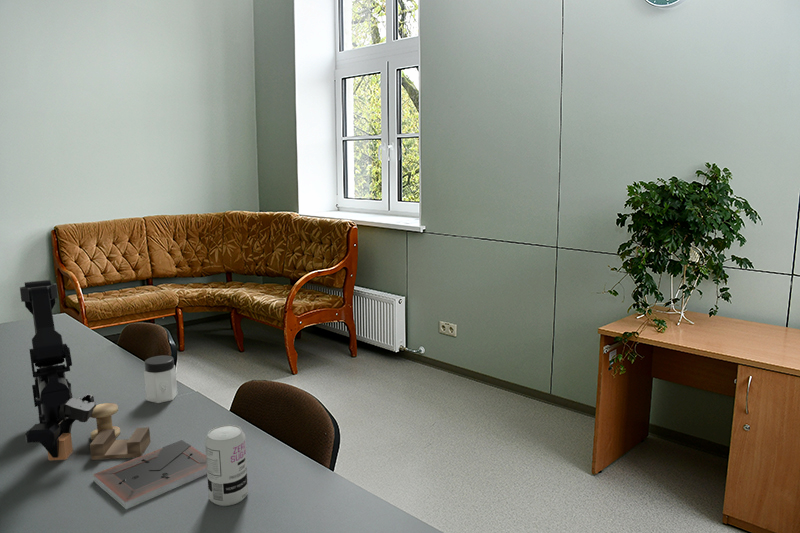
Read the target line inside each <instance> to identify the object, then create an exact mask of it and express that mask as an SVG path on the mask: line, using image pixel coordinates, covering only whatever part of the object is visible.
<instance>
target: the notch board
mask: <svg viewBox="0 0 800 533" xmlns="http://www.w3.org/2000/svg"><path fill="white" fill-rule="evenodd" d="M91 441H92V442H91V443H90V444H89V449H90V456H91V457H90V458H91V461H95V460H97V461H98V460H111V459H112V460H113V459H135V458H137V457H140V456H143V455H144V453H145V451H146V449H147V448H148V446H149V445H150V443H151V432H150V427H149V426H146V427H145V426H144V427H136V429H135V430H134V432H133V433H132V434H131V436H130V437H129V438H128V439H125V438H124V439H116V438H115V429H104V430H101V432H100V433H99V434H98V435H97V436H96V438H95V439H94V440H91Z"/></svg>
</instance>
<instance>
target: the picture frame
mask: <svg viewBox="0 0 800 533" xmlns="http://www.w3.org/2000/svg"><path fill="white" fill-rule="evenodd" d="M206 475H207V463H206V454H205V453H203V452H201V451H199V449H196V448H195V447H193V446H192V445H191V444H189V443H187V442H186V441H184V440H182V439H181V440H178V441H176V442H173V443H169V444H168V445H165V446H162V447H161V448H159V449H156V450H154V451H151V452H149V453H148V452H147V453H146V454H143V455H142V456H140V457H134V458H131V459H130V460H128V461H125V462H122V463H119V464H116V465H114V466H112V467H109V468H106V469H104V470H101V471H99V472H96V473H94V474H93V475H92V476H93V482H94V483H95V484H97V486H99V487H100V488H101V489H102V490H103V491H105V492H106V493H107V494H108V495H109V496H110V497H111V498H113V499H114V500H115V501H116V502H117V503H118V504H120V505H121V506H122V507H123V508H124V509H125V510H129V509H130V508H134V507H135V506H137V505H140V504H142V503H145V502H146V501H148V500H151V499H153V498H155V497H158V496H160V495H163V494H164V493H167V492H170V491H172V490H173V489H175V488H178V487H181V486H183V485H185V484H187V483H190V482H192V481H195V480H196V479H198V478H202V477H203V476H206Z"/></svg>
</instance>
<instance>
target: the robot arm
mask: <svg viewBox="0 0 800 533" xmlns="http://www.w3.org/2000/svg"><path fill="white" fill-rule="evenodd" d="M19 292H20V299H21V300H20V302H22V303H24V307H25V308H26V309H27V311H28V312H29V313H30V314H32V318H33V327H34V336H33V337H32V338H31V345H32V346H31V347H32V348H28V349H29V356H30V366H31V371H32V378H33V379H34V380H33V381H34V384H32V385H31V387H32V395H33V396H32V397H33V403H34V407H35V408H37V411H38V412H37V413H38V421H39V422H38V423H35V424H34V425H33V426H32V427H30V428H29V429H28V431H26V433H24V437H25V443H27V444H28V443H30V444H31V443H40V444H41V445H42V447H43V448H44V449H45V450H46V451H47V453H48V452H49V453H50V455H51V456H52V457H53V458H57V457H58V454H59V437H60V436H61V435H62V434H63V433H71V432H72V427H73V424H74V422H75V421H78V422H79V423H87V422H88V420H89V419H90V418H91V416H92V413H93V410H94V408H95V407H96V405H97V404H96V401H95V398H94V395H93V394H91V393H86V394H85V395H84V396H83V397H82V398H81V397H78V398H74V397H73V392H72V383H71V382H69V381H68V378H66V373H67V372H71V368H70V367H71V366H73V362H72V355H71V349H70V347H69V346H68V344H67V343H64V341H63V336H62V334H61V333H60V332H58V331H57V330H56V327H55V322H54V316H53V308H54V306H56V299H57V298H59V293H58V285H57V283H55V282H54V283H52V282H51V280H50V279H45V280H34V281H25V282H24V286H19ZM63 363H64V364H63ZM35 367H37V368H36V370H35ZM71 434H72V433H71Z"/></svg>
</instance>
